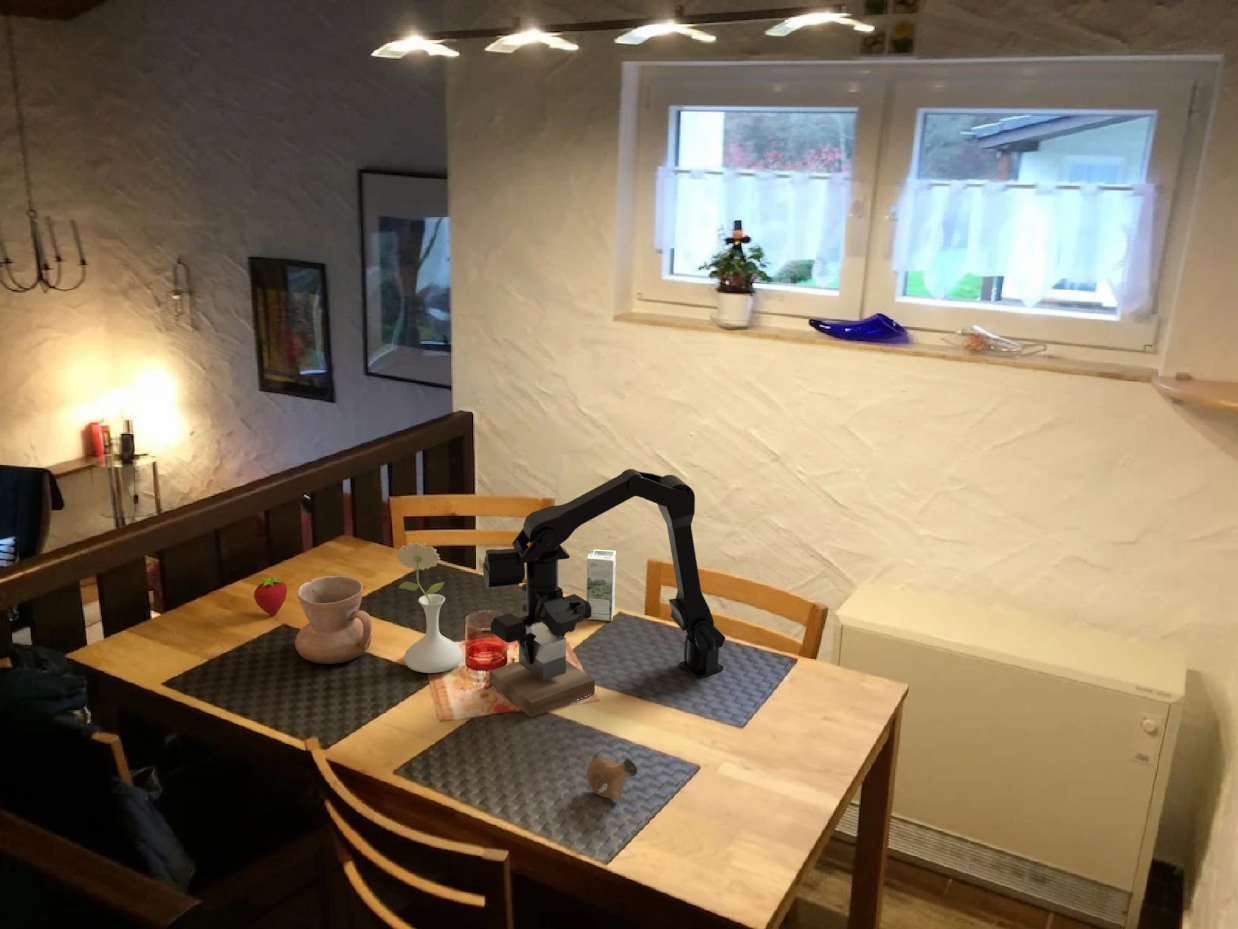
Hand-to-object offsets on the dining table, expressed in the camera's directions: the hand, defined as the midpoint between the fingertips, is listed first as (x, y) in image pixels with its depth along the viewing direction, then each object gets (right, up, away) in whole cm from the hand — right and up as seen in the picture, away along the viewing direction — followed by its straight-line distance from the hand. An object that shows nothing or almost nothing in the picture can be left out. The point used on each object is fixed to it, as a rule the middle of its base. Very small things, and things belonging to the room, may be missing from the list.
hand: (542, 659), depth 189 cm
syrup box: (+10, +3, +33) cm, 34 cm away
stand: (0, -6, +2) cm, 6 cm away
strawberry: (-59, +4, +29) cm, 66 cm away
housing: (0, -2, +1) cm, 2 cm away
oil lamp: (+13, -16, -29) cm, 36 cm away
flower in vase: (-23, -3, +10) cm, 25 cm away
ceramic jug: (-41, -2, +13) cm, 44 cm away
